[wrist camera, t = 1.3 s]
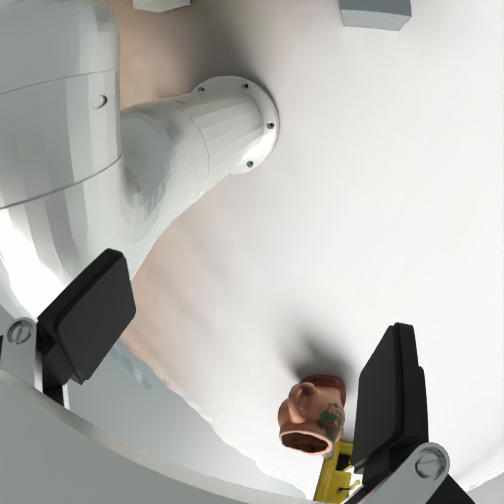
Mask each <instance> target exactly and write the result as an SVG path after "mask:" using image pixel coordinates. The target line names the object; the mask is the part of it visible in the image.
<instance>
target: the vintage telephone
mask: <svg viewBox="0 0 504 504" xmlns="http://www.w3.org/2000/svg"><path fill="white" fill-rule="evenodd" d="M352 449H353V443H348V442H341V440H340V439H339V440H338V441H337V442H336V443H335V447H334V452H333V456H332V458H329V459H325V458H324V461H323V465H322V469H321V472H320V476H319V480H318V484H317V487H316V491H315V494H314V498H313V501H318V502H325V503H333V504H341V503H342V502H343V501H344V500H345V499H347V498H348V496H349V491H350V490H353V489H354V488H355V487H356V486H357V485H359V484H360V480H357V481H355V483H354V484H353V485H351V486H350V487H349V483H350V479H351V473H349V472H344V471H346V470H347V469H349V468H350V467H351V456H352ZM354 467H355V466H354ZM351 468H352V467H351Z"/></svg>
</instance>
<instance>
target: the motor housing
mask: <svg viewBox="0 0 504 504" xmlns="http://www.w3.org/2000/svg"><path fill="white" fill-rule="evenodd" d="M340 10H341V15H342V19H343V24H344V26H351V27H365V28H376V29H385V30H393V31H399V30H400V29H401V28H402V27H403V25H404V24H405V23H406V22H407V21H408V20H409V19H410V18H411V17H412V16H411V6H410V0H340Z"/></svg>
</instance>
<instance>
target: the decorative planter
mask: <svg viewBox="0 0 504 504" xmlns="http://www.w3.org/2000/svg"><path fill="white" fill-rule="evenodd" d="M345 401H346V391H345V387H344V385H343V383H342V382H341V381H340V380H339V379H337V378H335V377H332V376H323V375H319V376H311V377H308V378H305V379H303V380H302V381H301V382H300V383H299V384H296V385H294V386H293V387H292V389H291V391H290V393H289V397H288V398H287V399H286V400H285V401H284V402H283V403H282V404H281V406H280V408H279V411H278V422H279V426H280V434H279V438H280V441H281V442H282V444H283V445H284V446H286V447H288V448H290V449H292V450H296V451H300V452H303V453H306V454H309V455H322V454H325V453H327V452H330V451H331V450H332V449H333V446H334V444H335V443H336V442H337V441H338V440H339V439H340V438H341V437H342V435H343V425H344V421H345V414H344V410H343V408H344V405H345Z"/></svg>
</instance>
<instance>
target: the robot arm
mask: <svg viewBox="0 0 504 504" xmlns="http://www.w3.org/2000/svg"><path fill="white" fill-rule="evenodd" d="M116 69H118V70H116ZM108 70H109V71H108ZM100 71H102V72H100ZM93 72H94V73H93ZM87 73H88V74H87ZM81 74H82V75H81ZM75 75H76V76H75ZM50 80H51V81H50ZM37 83H38V84H37ZM33 84H34V85H33ZM246 84H248V88H246V87H245V85H246ZM18 88H19V89H18ZM203 88H204V91H203ZM271 123H273V124H274V126H273V127H272V126H271V125H270V124H271ZM278 134H279V119H278V114H277V111H276V108H275V106H274V103H273V102H272V100H271V99H270V97H269V95H268V94H267V93H266V92H265V91H264V90H263V89H262V88H261V87H260V86H258V85H257V84H255V83H254V82H252V81H250V80H248V79H245V78H243V77H238V76H217V77H214V78H211V79H208V80H206V81H204V82H202V83H201V84H199V85H198V86H197V87H196V88H195V89H193V90H192V92H191V93H188V94H182V95H177V96H172V97H167V98H162V99H157V100H153V101H148V102H143V103H139V104H135V105H132V106H130V107H127V108H125V109H123V110H121V111H120V32H119V26H118V21H117V18H116V16H115V13H114V12H113V10H112V9H111V8H110V6H109V5H108V4H107V3H105V2H104V1H103V0H20V1H17V2H14V3H12V4H10V5H7V6H5V7H2V8H0V304H1V305H2V307H3V308H4V309H5V310H6V311H7V312H8V313H9V314H11V315H12V316H13V317H14V318H15V320H14V321H12V322H11V323H10V324H9V325H8V326H7V328H6V329H5V332H4V335H2V336H0V504H333V503H325V502H318V501H311V500H305V499H300V498H294V497H289V496H284V495H279V494H274V493H269V492H265V491H261V490H256V489H252V488H249V487H245V486H241V485H237V484H234V483H230V482H227V481H223V480H220V479H217V478H214V477H211V476H208V475H205V474H202V473H199V472H196V471H193V470H190V469H188V468H185V467H182V466H180V465H177V464H174V463H172V462H169V461H167V460H165V459H162V458H160V457H158V456H155V455H153V454H151V453H148V452H146V451H144V450H142V449H140V448H137V447H135V446H133V445H131V444H129V443H127V442H125V441H123V440H121V439H119V438H117V437H115V436H113V435H111V434H109V433H107V432H106V431H103V430H102V429H100V428H98V427H96V426H94V425H93V424H91V423H89V422H88V421H86V420H84V419H83V418H81V417H79V416H78V415H76V414H74V413H73V412H71V411H70V408H69V400H68V389H67V382H68V380H69V379H70V378H71V379H72V380H73V381H75V382H77V383H79V384H80V385H82V384H83V382H84V381H85V380H88V379H89V378H90V377H91V376H92V374H93V373H94V371H95V370H96V368H97V367H98V366H99V364H100V363H101V361H102V360H103V359H104V357H105V356H106V354H107V353H108V352H109V350H110V349H111V348H112V346H113V345H114V343H115V342H116V340H117V339H118V338H119V337H120V335H121V334H122V332H123V331H124V330H125V328H126V327H127V326H128V324H129V323H130V322H131V320H132V319H133V318H134V316H135V313H136V307H135V302H134V297H133V292H132V287H131V282H130V281H131V280H132V278H133V277H134V275H135V274H136V272H137V271H138V269H139V268H140V266H141V264H142V263H143V261H144V260H145V258H146V256H147V255H148V253H149V251H150V250H151V248H152V247H153V245H154V244H155V242H156V241H157V239H158V238H159V236H160V235H161V234H162V233H163V232H164V230H165V229H166V228H167V227H168V226H169V225H170V224H171V223H172V222H173V221H174V220H175V219H176V218H177V217H178V216H179V215H180V214H181V213H182V212H183V211H185V210H186V209H187V208H188V207H189V206H190V205H191V204H193V203H194V202H195V201H197V200H198V199H199V198H200V197H201V196H202V195H204V194H205V193H206V192H207V191H208V190H210V189H211V188H212V187H213V186H214V185H216V184H217V183H218V182H219V181H220V180H222V179H223V178H224V177H225V176H227V175H239V174H243V173H246V172H249V171H251V170H253V169H255V168H257V167H258V166H259V165H261V164H262V163H263V162H264V161H265V160H266V159H267V158H268V157H269V155H270V154H271V152H272V151H273V149H274V147H275V145H276V142H277V139H278ZM251 161H252V162H253V164H251ZM351 466H355V468H354V474H363V479H362V484H363V485H362V486H361V487H359V488H358V489H357V490H356V491H355V492H354V493H353V494H351V495H350V496H349V497H348V498H347V499H345V500H344V501H343V502H342V503H341V504H475V503H474V501H473V500H472V499H471V498H470V497H469V496H468V495H467V494H466V493H465V492H464V490H463V489H462V488H461V487H460V486H459V485H458V484H457V483H456V482H455V481H454V479H453V478H452V477H451V476H450V475H449V474H448V472H449V468H450V459H449V456H448V453H447V451H446V450H445V449H444V448H443V447H442V446H440V445H439V444H437V443H433V442H429V437H428V413H427V398H426V386H425V376H424V370H423V368H422V367H420V366H419V365H418V356H417V348H416V341H415V334H414V328H413V326H412V325H408V324H403V323H399V322H396V323H395V324H394V326H391V325H390V326H389V327H388V329H387V330H386V332H385V334H384V336H383V337H382V339H381V341H380V342H379V344H378V346H377V347H376V349H375V351H374V352H373V354H372V356H371V357H370V359H369V360H368V362H367V364H366V365H365V367H364V368H363V370H362V372H361V374H360V377H359V386H358V400H357V412H356V422H355V432H354V441H353V449H352V456H351Z"/></svg>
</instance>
